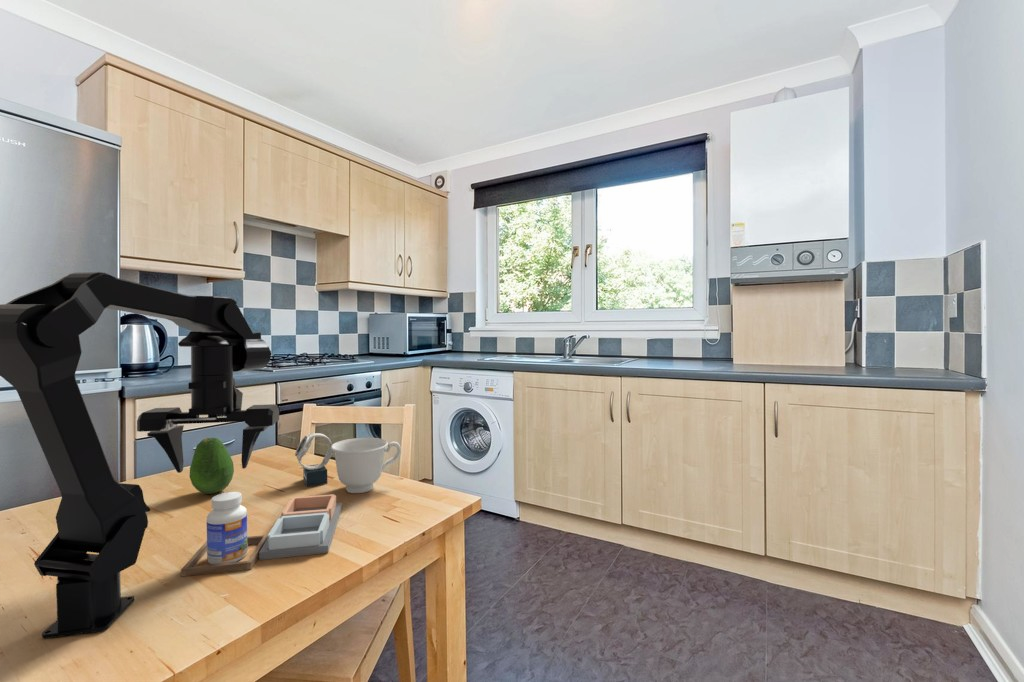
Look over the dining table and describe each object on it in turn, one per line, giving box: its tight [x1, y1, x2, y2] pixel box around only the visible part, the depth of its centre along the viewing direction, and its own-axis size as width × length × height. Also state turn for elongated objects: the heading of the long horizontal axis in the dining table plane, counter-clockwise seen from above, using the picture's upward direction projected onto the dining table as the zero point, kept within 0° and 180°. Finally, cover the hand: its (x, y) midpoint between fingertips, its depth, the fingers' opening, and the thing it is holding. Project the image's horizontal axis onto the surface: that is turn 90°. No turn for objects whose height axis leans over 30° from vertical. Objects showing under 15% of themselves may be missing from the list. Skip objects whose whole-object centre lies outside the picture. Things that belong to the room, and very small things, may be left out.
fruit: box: [189, 436, 235, 495], centre depth 100 cm, size 8×8×12 cm
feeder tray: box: [180, 534, 268, 577], centre depth 73 cm, size 9×9×1 cm
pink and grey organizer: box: [258, 493, 343, 561], centre depth 82 cm, size 18×10×3 cm, turn 14°
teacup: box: [331, 437, 402, 494], centre depth 103 cm, size 12×15×10 cm
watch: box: [294, 432, 334, 488], centre depth 107 cm, size 6×8×11 cm
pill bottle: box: [206, 491, 249, 565], centre depth 73 cm, size 5×5×10 cm
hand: (212, 469), depth 76 cm, fingers open, 9 cm apart
